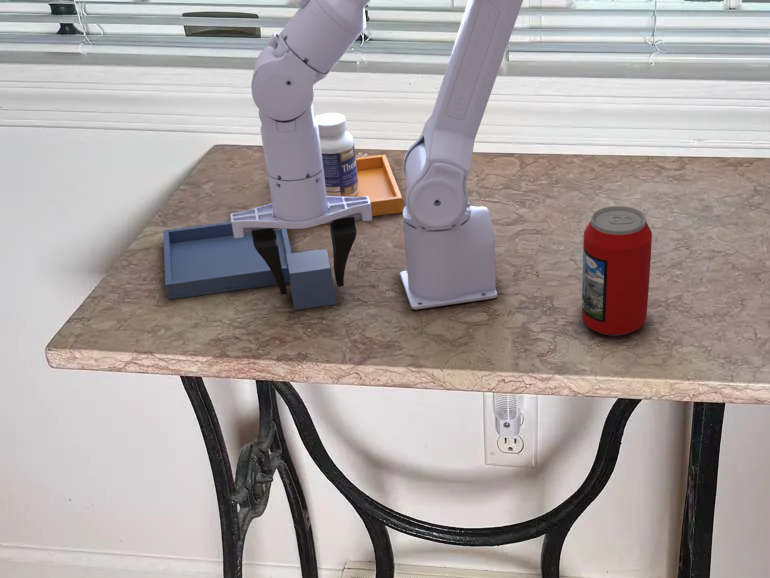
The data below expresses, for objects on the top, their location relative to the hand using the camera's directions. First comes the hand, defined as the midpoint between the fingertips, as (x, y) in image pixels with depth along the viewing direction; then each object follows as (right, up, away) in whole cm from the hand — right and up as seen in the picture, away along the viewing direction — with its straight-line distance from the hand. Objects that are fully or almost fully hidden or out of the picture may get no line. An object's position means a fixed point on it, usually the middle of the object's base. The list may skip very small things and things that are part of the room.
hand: (311, 286), depth 129 cm
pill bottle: (+1, +15, +20) cm, 25 cm away
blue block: (0, -1, +1) cm, 1 cm away
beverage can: (+32, -5, -5) cm, 33 cm away
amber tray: (+1, +15, +20) cm, 25 cm away
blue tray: (-10, +4, +8) cm, 14 cm away
